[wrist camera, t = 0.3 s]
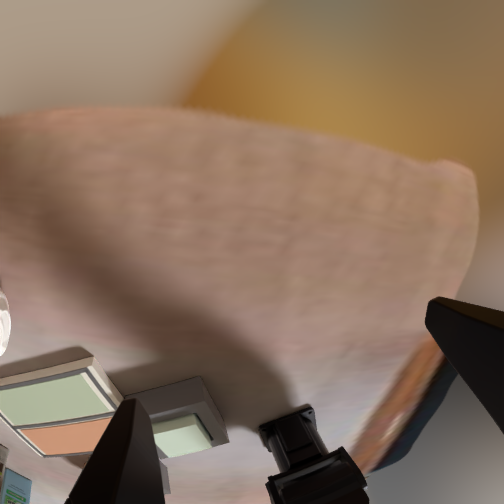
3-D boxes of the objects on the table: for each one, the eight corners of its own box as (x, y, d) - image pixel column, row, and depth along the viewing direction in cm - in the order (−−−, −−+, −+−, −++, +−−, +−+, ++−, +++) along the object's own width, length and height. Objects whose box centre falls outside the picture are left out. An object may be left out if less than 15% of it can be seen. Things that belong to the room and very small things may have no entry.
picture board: (153, 434, 27) (153, 443, 26) (42, 449, 25) (41, 457, 24) (93, 356, 22) (91, 366, 21) (-22, 382, 20) (-25, 391, 18)
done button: (207, 427, 26) (212, 447, 24) (166, 438, 26) (169, 457, 24) (191, 402, 25) (195, 424, 22) (147, 414, 24) (148, 435, 22)
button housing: (223, 419, 29) (229, 442, 26) (158, 436, 28) (160, 459, 25) (199, 375, 25) (205, 400, 23) (125, 395, 24) (124, 420, 22)
